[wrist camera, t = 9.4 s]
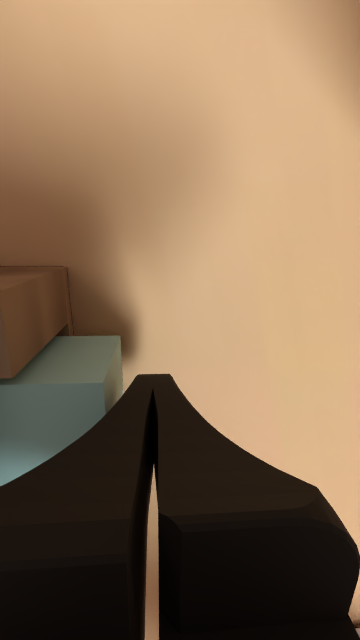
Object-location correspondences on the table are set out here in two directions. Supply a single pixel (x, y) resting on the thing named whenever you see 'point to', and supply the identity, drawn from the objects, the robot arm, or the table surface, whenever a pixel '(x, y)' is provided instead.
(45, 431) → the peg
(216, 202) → the table surface
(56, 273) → the sleeve block
